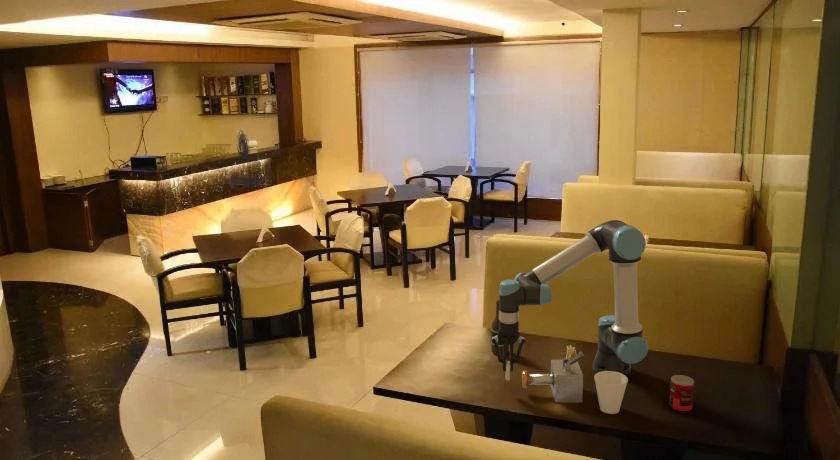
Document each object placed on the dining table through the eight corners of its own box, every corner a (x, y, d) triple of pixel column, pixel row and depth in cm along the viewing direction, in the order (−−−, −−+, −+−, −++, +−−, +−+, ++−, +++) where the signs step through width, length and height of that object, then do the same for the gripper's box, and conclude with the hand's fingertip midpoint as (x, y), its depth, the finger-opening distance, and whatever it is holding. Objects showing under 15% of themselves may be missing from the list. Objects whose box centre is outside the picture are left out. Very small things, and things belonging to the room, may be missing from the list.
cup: (633, 411, 241) (635, 380, 238) (609, 420, 235) (611, 388, 232) (609, 398, 251) (610, 368, 248) (586, 406, 245) (587, 375, 242)
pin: (567, 383, 258) (567, 368, 256) (570, 390, 252) (570, 375, 250) (521, 383, 259) (521, 368, 258) (523, 390, 253) (523, 375, 251)
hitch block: (576, 385, 262) (576, 354, 259) (582, 402, 248) (583, 369, 245) (550, 385, 263) (551, 354, 260) (555, 402, 249) (556, 369, 246)
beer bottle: (508, 356, 291) (508, 304, 286) (490, 355, 293) (490, 303, 288) (509, 349, 299) (509, 298, 294) (492, 348, 300) (492, 297, 295)
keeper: (583, 353, 254) (581, 350, 254) (585, 358, 249) (583, 355, 249) (565, 364, 255) (563, 362, 255) (567, 369, 251) (564, 366, 251)
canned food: (673, 400, 248) (674, 372, 246) (695, 406, 243) (697, 378, 241) (665, 408, 243) (667, 380, 240) (688, 414, 238) (690, 386, 235)
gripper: (525, 317, 254) (523, 374, 259) (490, 317, 254) (490, 374, 260) (527, 324, 246) (525, 383, 251) (491, 324, 247) (491, 382, 252)
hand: (507, 378), depth 255 cm, fingers closed
